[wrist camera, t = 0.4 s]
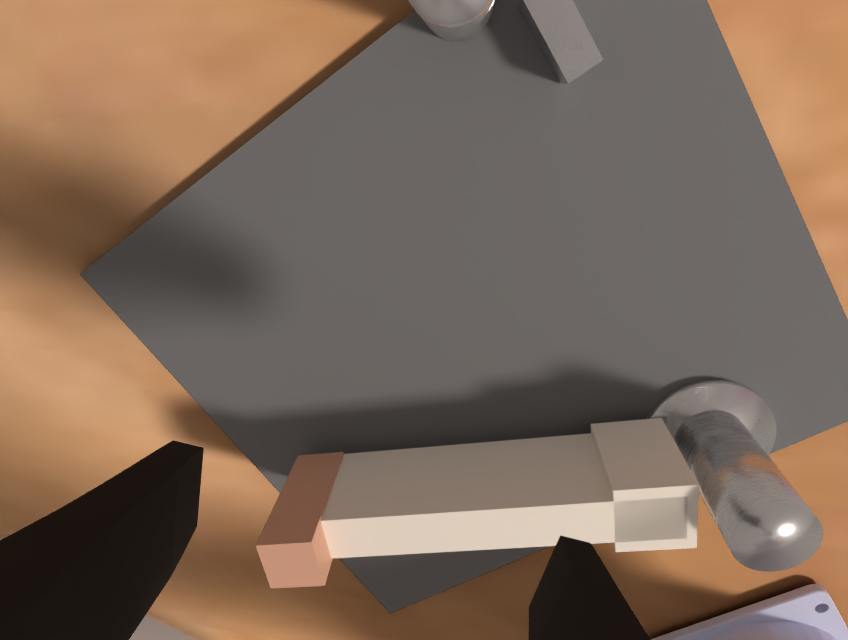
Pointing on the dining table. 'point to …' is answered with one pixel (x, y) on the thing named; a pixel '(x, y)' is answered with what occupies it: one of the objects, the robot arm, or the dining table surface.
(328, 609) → the dining table surface
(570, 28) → the post
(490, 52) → the mat
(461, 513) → the gate
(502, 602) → the dining table surface
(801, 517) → the post
